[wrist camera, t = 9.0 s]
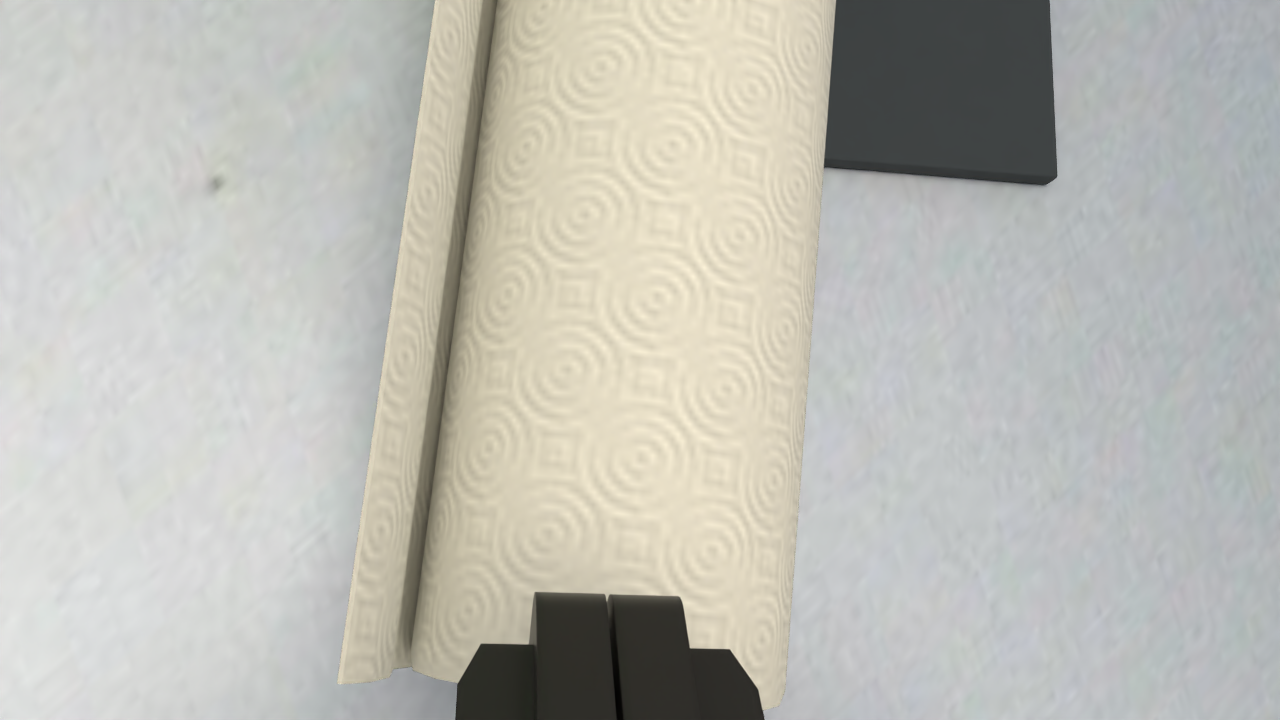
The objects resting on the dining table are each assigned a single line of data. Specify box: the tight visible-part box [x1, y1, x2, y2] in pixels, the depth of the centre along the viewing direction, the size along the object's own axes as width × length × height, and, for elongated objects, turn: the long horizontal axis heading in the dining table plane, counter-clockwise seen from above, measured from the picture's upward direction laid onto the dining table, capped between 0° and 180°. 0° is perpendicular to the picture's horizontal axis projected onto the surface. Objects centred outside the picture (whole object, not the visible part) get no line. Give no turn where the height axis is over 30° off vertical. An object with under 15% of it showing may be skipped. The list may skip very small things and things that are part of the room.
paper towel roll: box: [337, 0, 836, 710], centre depth 21 cm, size 7×6×21 cm
